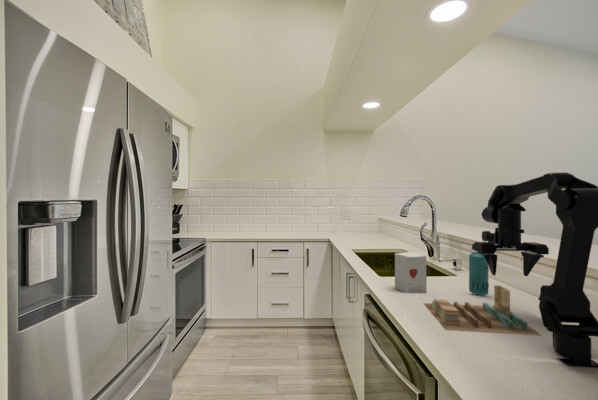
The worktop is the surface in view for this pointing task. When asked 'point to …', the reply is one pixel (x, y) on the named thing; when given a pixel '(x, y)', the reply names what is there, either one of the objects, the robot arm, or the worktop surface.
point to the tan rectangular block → (502, 300)
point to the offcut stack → (446, 311)
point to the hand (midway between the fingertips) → (509, 275)
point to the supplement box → (410, 272)
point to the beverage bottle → (478, 274)
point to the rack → (485, 320)
